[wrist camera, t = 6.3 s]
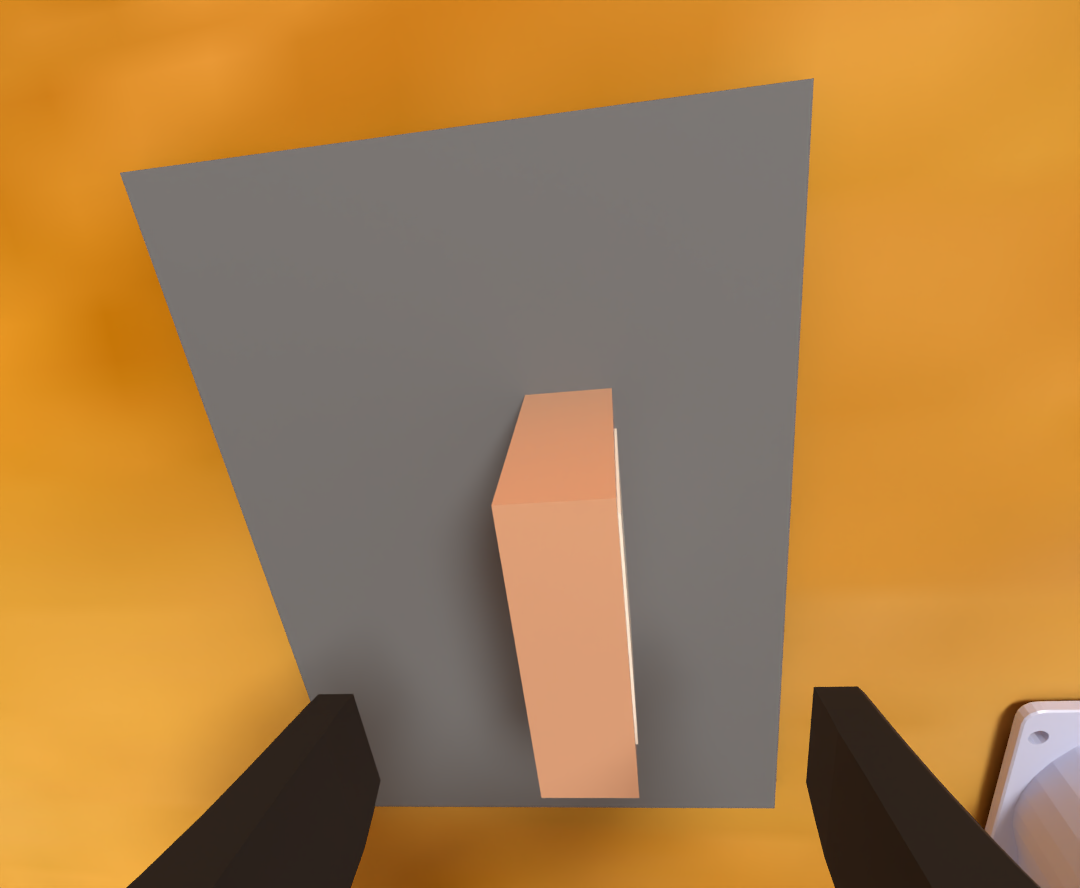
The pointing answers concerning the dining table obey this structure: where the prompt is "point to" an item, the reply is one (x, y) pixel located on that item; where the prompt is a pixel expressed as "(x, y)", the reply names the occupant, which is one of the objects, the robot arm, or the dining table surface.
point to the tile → (570, 593)
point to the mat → (509, 412)
